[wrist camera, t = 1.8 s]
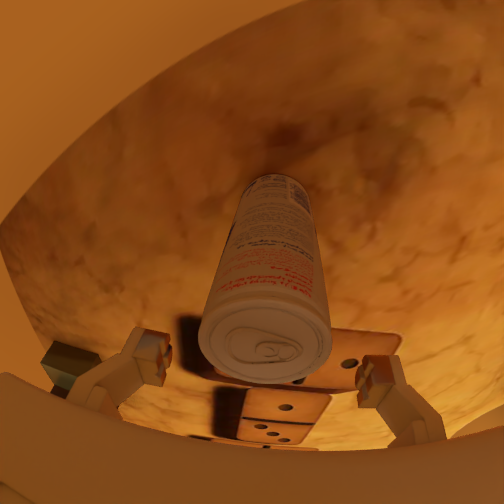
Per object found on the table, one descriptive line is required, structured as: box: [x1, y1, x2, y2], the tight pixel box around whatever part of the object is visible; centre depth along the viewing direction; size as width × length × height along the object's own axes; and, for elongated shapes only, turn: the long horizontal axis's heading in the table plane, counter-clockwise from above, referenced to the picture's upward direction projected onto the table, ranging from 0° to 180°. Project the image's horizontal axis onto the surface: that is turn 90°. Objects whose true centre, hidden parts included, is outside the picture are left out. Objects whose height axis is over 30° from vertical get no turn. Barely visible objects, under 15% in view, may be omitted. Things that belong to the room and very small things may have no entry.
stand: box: [40, 341, 119, 409], centre depth 38 cm, size 14×9×11 cm, turn 176°
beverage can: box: [198, 174, 332, 384], centre depth 18 cm, size 6×6×15 cm
